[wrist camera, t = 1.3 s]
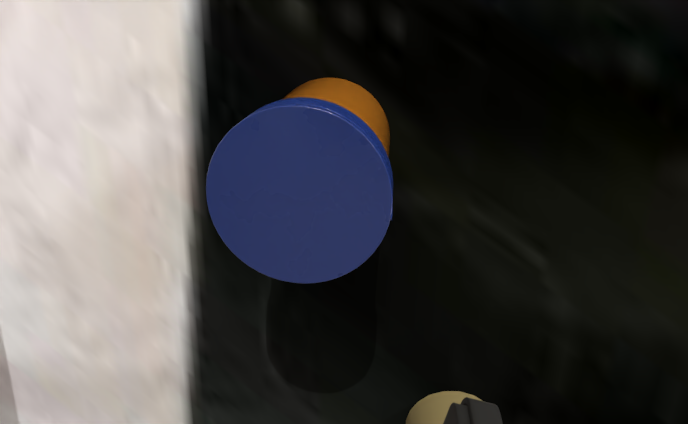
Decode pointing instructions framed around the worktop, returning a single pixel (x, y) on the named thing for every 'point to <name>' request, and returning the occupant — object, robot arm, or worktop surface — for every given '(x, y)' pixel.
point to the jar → (348, 102)
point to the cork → (435, 407)
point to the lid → (301, 190)
